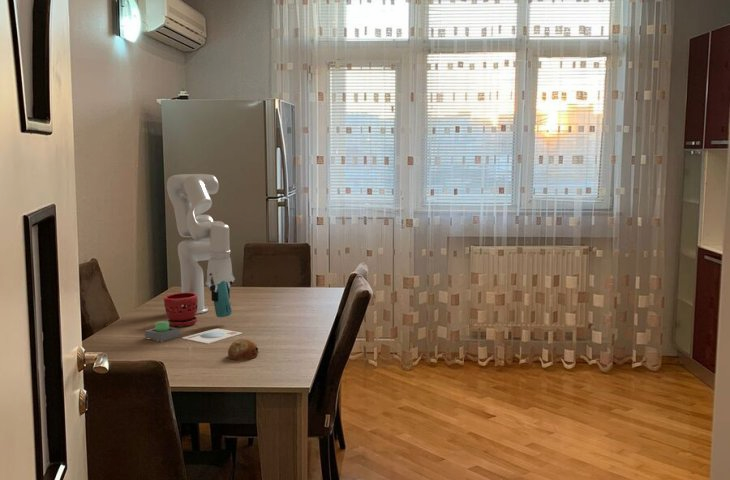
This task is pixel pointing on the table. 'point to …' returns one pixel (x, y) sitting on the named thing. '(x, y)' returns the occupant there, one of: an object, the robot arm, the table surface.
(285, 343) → the table surface
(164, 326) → the button
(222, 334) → the drawing sheet
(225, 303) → the beverage bottle
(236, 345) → the bread roll
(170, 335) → the button housing
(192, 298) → the plant pot
